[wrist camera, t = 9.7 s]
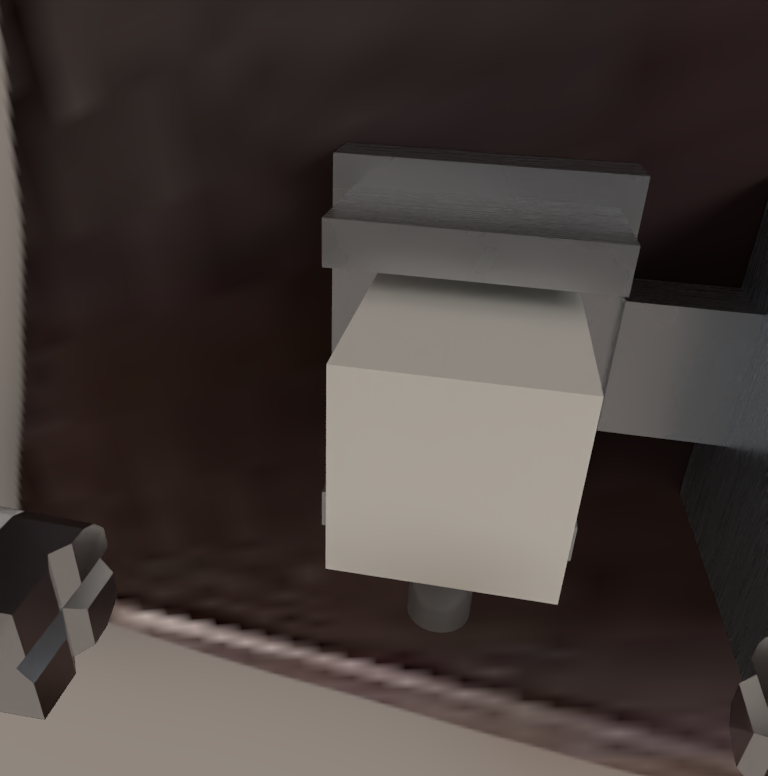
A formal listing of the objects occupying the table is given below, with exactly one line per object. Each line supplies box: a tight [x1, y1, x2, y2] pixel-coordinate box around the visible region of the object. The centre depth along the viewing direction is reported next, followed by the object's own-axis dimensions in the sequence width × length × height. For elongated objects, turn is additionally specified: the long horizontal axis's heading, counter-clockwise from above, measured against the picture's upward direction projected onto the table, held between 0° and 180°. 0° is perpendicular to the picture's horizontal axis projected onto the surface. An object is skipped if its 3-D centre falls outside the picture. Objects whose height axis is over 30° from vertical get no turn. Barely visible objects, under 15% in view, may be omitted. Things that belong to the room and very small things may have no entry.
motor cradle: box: [322, 142, 768, 681], centre depth 15 cm, size 20×9×7 cm, turn 88°
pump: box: [326, 273, 604, 633], centre depth 15 cm, size 4×6×6 cm
